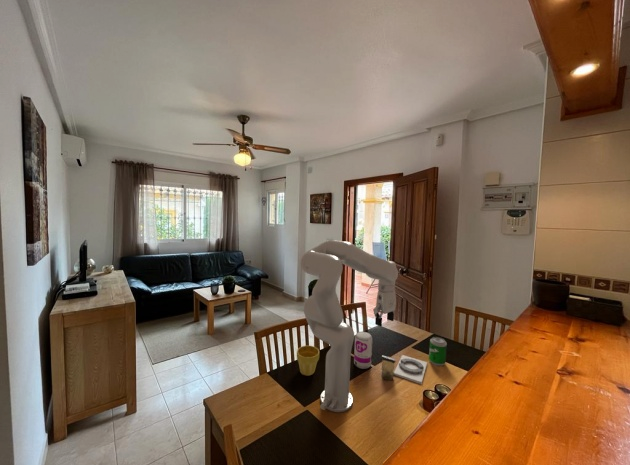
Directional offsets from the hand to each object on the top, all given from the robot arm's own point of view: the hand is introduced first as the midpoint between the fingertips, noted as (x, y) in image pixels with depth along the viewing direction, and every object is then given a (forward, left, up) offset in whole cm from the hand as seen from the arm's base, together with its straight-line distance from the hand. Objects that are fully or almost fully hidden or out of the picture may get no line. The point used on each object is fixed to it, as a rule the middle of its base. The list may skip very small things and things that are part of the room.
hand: (384, 322), depth 125 cm
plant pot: (-22, +28, -22) cm, 42 cm away
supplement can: (-3, +9, -22) cm, 24 cm away
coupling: (-6, -4, -22) cm, 23 cm away
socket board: (+6, -12, -22) cm, 26 cm away
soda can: (+19, -22, -22) cm, 37 cm away
